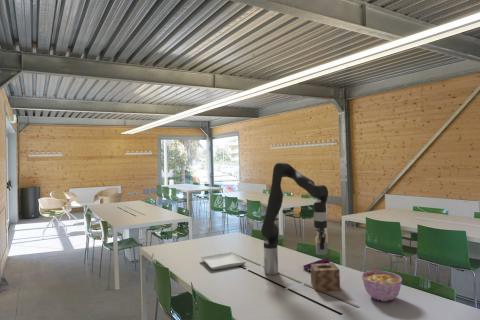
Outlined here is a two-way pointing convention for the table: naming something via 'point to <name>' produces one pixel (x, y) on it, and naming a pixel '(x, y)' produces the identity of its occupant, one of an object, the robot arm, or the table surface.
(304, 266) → the mounting bracket
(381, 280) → the bowl of food
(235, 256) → the square plate
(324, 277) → the patterned tissue box
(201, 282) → the table surface
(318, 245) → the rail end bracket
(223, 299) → the table surface
